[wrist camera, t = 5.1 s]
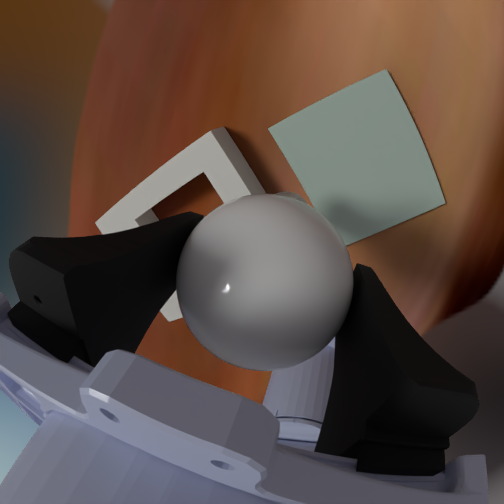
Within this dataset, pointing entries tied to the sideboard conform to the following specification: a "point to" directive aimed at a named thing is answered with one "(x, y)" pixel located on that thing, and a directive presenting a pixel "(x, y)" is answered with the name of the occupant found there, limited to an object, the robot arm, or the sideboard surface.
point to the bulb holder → (176, 175)
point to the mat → (360, 158)
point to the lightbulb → (264, 281)
